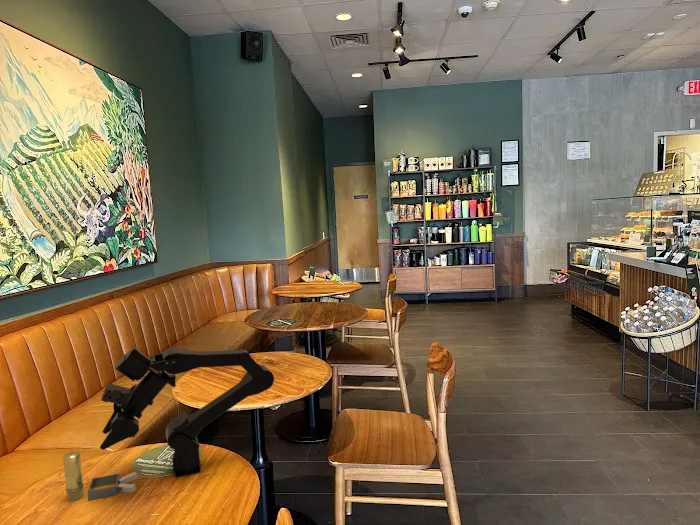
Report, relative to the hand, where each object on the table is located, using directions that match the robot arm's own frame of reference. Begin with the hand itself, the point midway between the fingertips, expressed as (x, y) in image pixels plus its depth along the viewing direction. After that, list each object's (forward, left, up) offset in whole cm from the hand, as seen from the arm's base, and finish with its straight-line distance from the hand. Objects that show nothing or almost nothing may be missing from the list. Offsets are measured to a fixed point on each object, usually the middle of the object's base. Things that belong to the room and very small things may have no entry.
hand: (102, 440), depth 115 cm
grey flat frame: (-2, +1, -13) cm, 13 cm away
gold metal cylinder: (+7, +1, -13) cm, 15 cm away
